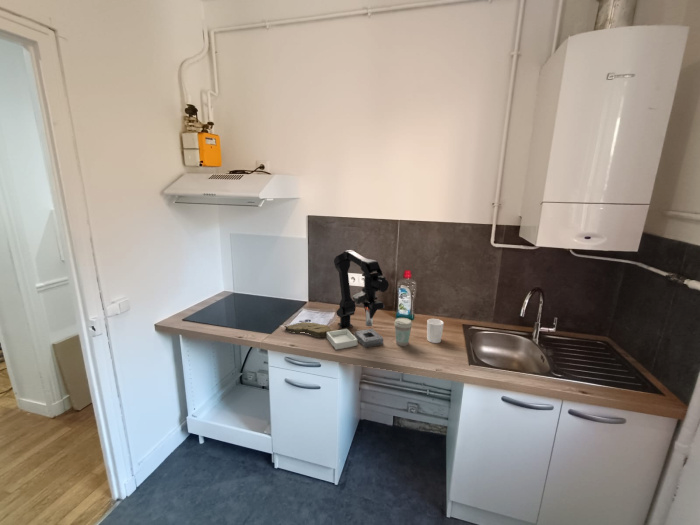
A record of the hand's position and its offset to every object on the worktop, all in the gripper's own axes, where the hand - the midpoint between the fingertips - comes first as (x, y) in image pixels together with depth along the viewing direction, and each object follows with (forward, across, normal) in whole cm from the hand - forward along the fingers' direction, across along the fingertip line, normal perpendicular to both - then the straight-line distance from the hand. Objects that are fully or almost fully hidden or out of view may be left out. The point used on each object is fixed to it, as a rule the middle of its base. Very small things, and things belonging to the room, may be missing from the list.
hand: (369, 316), depth 151 cm
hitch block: (+13, 0, 0) cm, 13 cm away
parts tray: (+13, -4, -13) cm, 19 cm away
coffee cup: (+13, +9, +14) cm, 21 cm away
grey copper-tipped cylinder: (+4, 0, 0) cm, 4 cm away
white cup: (+13, +12, +31) cm, 36 cm away
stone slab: (+13, -22, -25) cm, 36 cm away
